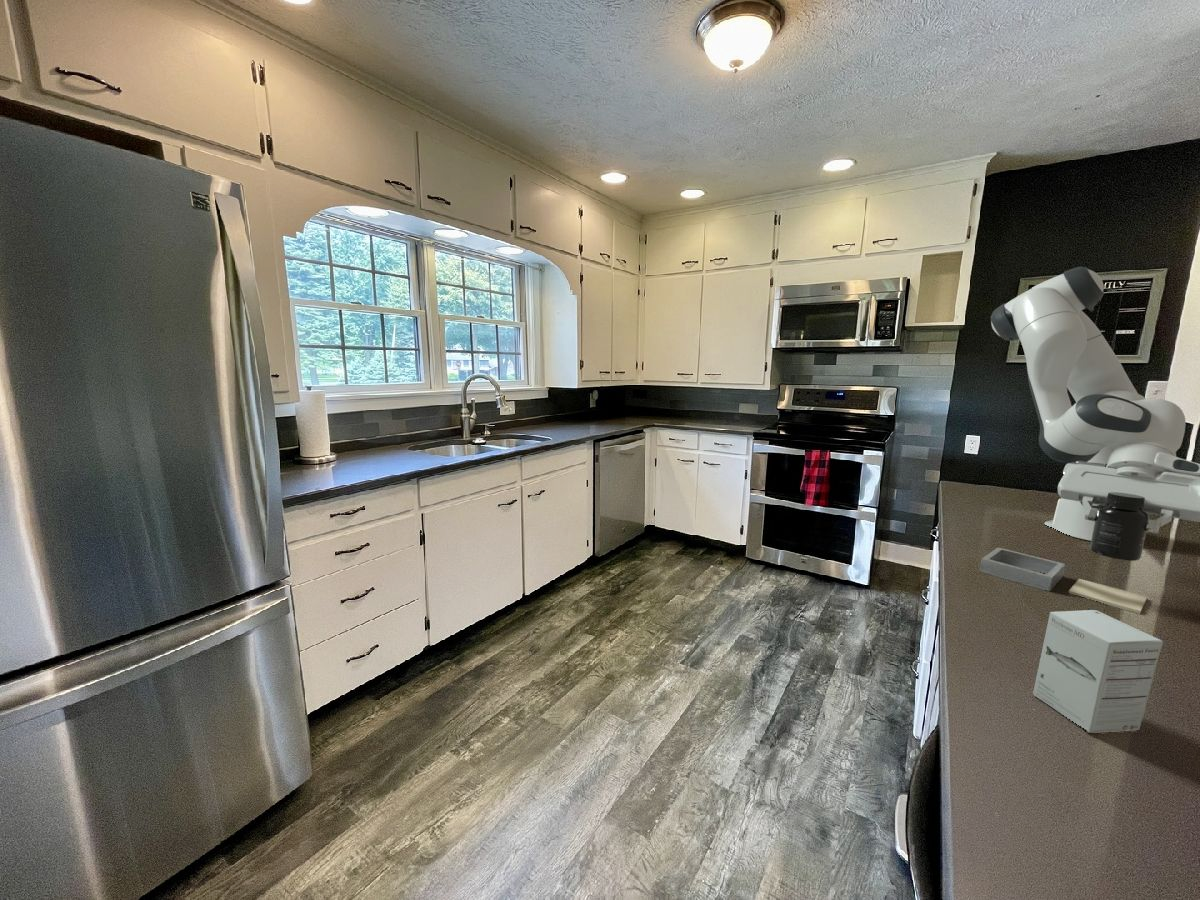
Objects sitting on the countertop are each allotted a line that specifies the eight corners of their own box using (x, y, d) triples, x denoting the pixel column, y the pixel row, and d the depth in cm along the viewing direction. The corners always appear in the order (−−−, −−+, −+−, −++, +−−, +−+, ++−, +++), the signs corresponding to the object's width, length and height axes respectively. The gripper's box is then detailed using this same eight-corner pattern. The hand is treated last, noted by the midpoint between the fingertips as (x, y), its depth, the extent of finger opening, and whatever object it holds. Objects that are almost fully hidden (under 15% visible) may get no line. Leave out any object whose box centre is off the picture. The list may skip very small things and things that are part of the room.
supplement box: (1030, 695, 66) (1046, 610, 63) (1079, 692, 66) (1097, 608, 64) (1088, 736, 58) (1109, 642, 56) (1143, 733, 59) (1166, 639, 57)
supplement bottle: (1151, 563, 89) (1165, 500, 87) (1107, 560, 90) (1120, 498, 88) (1120, 550, 95) (1132, 491, 93) (1079, 547, 97) (1090, 489, 95)
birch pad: (1078, 581, 101) (1079, 578, 101) (1146, 599, 93) (1147, 596, 93) (1068, 593, 95) (1068, 590, 95) (1139, 614, 88) (1140, 611, 87)
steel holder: (995, 559, 112) (997, 547, 111) (1062, 577, 103) (1065, 564, 102) (979, 571, 105) (981, 558, 104) (1049, 591, 96) (1052, 577, 95)
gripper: (1066, 450, 102) (1046, 502, 98) (1222, 468, 86) (1205, 531, 82) (1067, 468, 105) (1048, 519, 101) (1217, 488, 89) (1201, 549, 85)
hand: (1119, 524), depth 91 cm, fingers closed on supplement bottle, 7 cm apart
